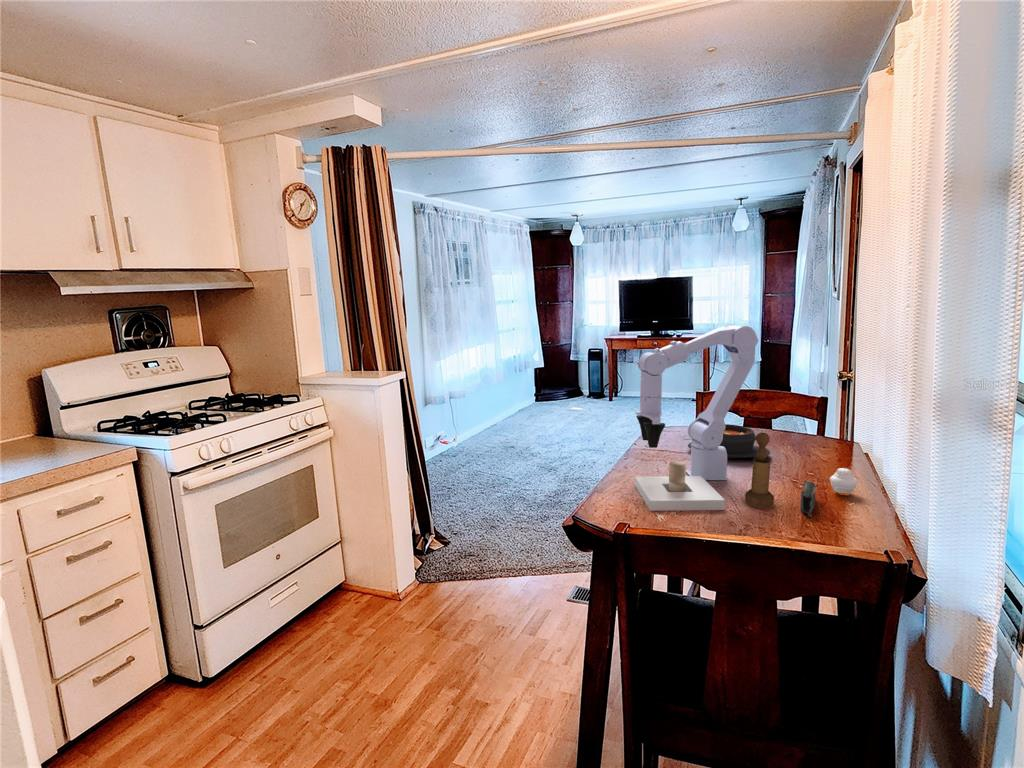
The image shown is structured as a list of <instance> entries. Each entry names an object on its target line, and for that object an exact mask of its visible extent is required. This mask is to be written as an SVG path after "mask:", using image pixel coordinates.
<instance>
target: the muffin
mask: <svg viewBox="0 0 1024 768" xmlns="http://www.w3.org/2000/svg"><path fill="white" fill-rule="evenodd" d="M829 481H830V484H831V488H832V490H833V491H834V492H835V491H836V492H838V493H845V494H846V493H848V494H849V493H851V492H853V491H854V490H855V488H856V486H857V485H858V481H857V478H856V477H854V475H853V472H852V470H851V469H849V468H846V467H841V468H840V467H839V468H837V469H836V471H835V473H833V475H832V476H830V477H829ZM851 494H852V493H851Z"/></svg>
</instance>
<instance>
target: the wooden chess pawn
mask: <svg viewBox="0 0 1024 768" xmlns="http://www.w3.org/2000/svg"><path fill="white" fill-rule="evenodd" d="M755 436H756V440H755V441H756V443H757V445H758V446H759V449H758V450H757V454H758V457H753V459H752V474H751V487H750V489H749V490H747V491H746V492H745V496H744V502H745V503H746V505H748V506H751V507H754V508H758V509H771V508H773V506H774V502H775V501H774V500H775V496H774V495H773V494H772V493H771V491H769V488H770V472H771V460H769V459H767V456H766V455H767V451H766V449H767V448H766V447H767V445H768V444H769V442H770V435H769V434H768V433H766V432H760V433H757V435H755ZM765 448H766V449H765Z"/></svg>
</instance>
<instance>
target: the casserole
mask: <svg viewBox="0 0 1024 768" xmlns="http://www.w3.org/2000/svg"><path fill="white" fill-rule="evenodd" d="M725 426H726V428H725V430H724V432H723V440H722V442H721V444H720V445H719V446H724V447H725V449H726V452H727V459H728V458H732V459H733V460H734V458H738V459H743V458H758V454H757V450H758V449H759V445H758V446H757V445H755V441H756V436H757V435H756V434H755V431H754V430H753V429H752V428H750V427H746V426H744V425H743V426H742V425H737V424H726V423H725ZM691 443H692V441H691V442H689V443H688V444H687V447H688V448H689V449H690V450H691ZM765 449H766V451H767V455H766V457H767V456H769V455H770V454H771V451H770V450H769V449H768V448H766V447H765Z"/></svg>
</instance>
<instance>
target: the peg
mask: <svg viewBox="0 0 1024 768" xmlns="http://www.w3.org/2000/svg"><path fill="white" fill-rule="evenodd" d="M668 464H669V466H668V476H669V492H685V476H686V470H687V468H686V464H687V463H686V462H684V461H680V460H673V461H669V463H668Z"/></svg>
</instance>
